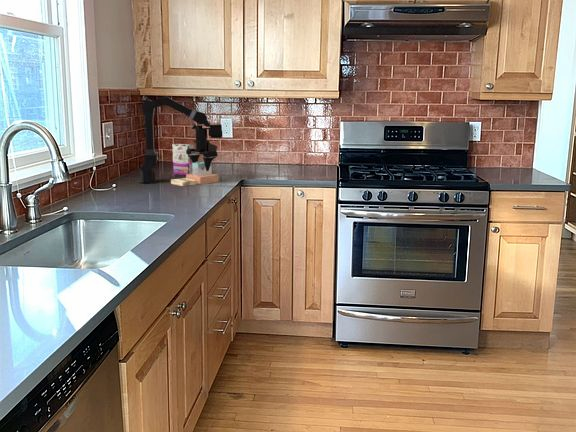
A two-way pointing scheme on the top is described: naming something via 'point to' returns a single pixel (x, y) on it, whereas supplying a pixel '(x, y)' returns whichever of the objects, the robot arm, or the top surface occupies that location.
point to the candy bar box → (181, 159)
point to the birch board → (183, 182)
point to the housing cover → (199, 164)
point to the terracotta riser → (203, 178)
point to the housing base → (201, 171)
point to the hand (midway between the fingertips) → (202, 169)
